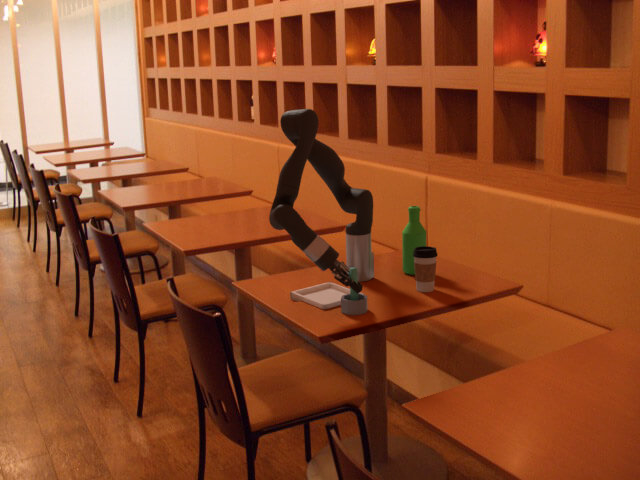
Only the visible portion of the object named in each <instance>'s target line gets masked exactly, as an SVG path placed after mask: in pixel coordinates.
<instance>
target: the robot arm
mask: <svg viewBox="0 0 640 480" xmlns="http://www.w3.org/2000/svg"><path fill="white" fill-rule="evenodd" d="M279 122H280V127H281V130H282V133H283V134H284V135H285V137H286V138H287V140H289V141H290V142H291V144H293V145H294V146H295V148H294V150H293V151H292V153H291V154H290V156H288V159H287V160H286V161H285V162H284V164H283V166H282V167H281V169H280V172H279V176H278V180H277V184H276V189H275V190H276V191H275V192H276V193H275V196H274V199H273V202H272V205H271V209H270V210H269V211H270V212H269V217H268V219H269V221H268V222H269V224H270V226H271V227H272V228H273V229H275V230H277V231H282V230H285V232H286V233H288V234H289V236H290V237H291V238H290V239H291V241H292V242H293V244H294V245H295V246H296V247H297V248H298V249H300V250H301V251H302V253H304V254H305V256H306V257H307V258H308V259H309V260H310V261H311V262H312V263H313V264H314V265H316V266H317V267H318V268H319V269H320V270H321V271H322V272H326V271H327V270H328V269H329V270H330V271H331V274H332V275H333V278H334V279H335V280H336V281H338V283H341V284H342V285H344V287H346V288H348V287H349V288H350V287H351V288H352V289H353V290H354V291H355V292H356V293H362V291H363V286H364V285H363V284H362V283H361V282H368V281H370V280H372V279H373V278H375V253H374V252H373V250H372V249H373V248H372V226H373V223H374V219H373V218H374V196H373V193H372V192H371V191H370V190H368V189H366V188H365V189H364V188H358V187H357V188H356V187H352V186H350V185H349V183H347V181H346V180H345V171H346V170H345V169H346V167H345V164H344V162H343V160H342V159H341V157H340V156H339V155H338V153H337V152H336V151H335V149H333V148H332V147H331V146H329V145H327V144H326V143H324V142H322V141H320V140H318V139H316V137H317V134H318V132H319V124H320V123H319V116H318V114H317V113H316V111H315V110H314V109H311V108H303V109H302V108H301V109H292V110H287V111H284V112H283V113H282V115H281V116H280V120H279ZM307 161H308V162H309V164H310V165H311V166H312V168H313V169H314V171H315V172H316V174H317V175H318V176H319V177H320V178H321V180H322V181H323V182H324V183H325V185H326V186H327V187H328V189H329V190H330V192H331V193H332V195H333V196H334V198H335V200H336V202H337V204H338V205H339V207H340V208H341V210H342V211H343V212H345V213H347V214H349V215H350V214H351V215H356V217H355V221H353V222H350V223H348V224H346V225H345V254H346V255H345V257H346V263H345V262H344V261H339V260H338V258H339V257H340V254H339V252H338V251H337V250H336V249H335V248H334V247H333V246H331V244H329V243H328V242H327V241H326V240H325V239H324V238H323V237H321V236H320V235H319V234H317V233H316V232H315V230H313V229H312V228H311V227H310V226H309V225H307V223H306V221H305V220H304V219H303V217H302V216H301V215H300V213H299V212H298V211H297V210H296V209H295V208H294V205H295V202H296V200H297V199H298V196H299V192H300V188H301V187H300V186H301V182H302V177H303V173H304V169H305V167H306V163H307ZM352 267H356V268H357V278H358V284H357V283H356V282H355V281H354V279H352V278H351V277H350V268H352Z"/></svg>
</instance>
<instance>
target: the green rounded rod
mask: <svg viewBox="0 0 640 480" xmlns="http://www.w3.org/2000/svg"><path fill="white" fill-rule="evenodd" d="M350 277H351V278H352V279H354V281H355V282H356V283H357V284H358V278H357V268H356V267H352V268H350ZM349 289H350V300H358V293H356V292H355V291H354V290H353V289H352V288H351V287H350V286H349Z"/></svg>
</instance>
